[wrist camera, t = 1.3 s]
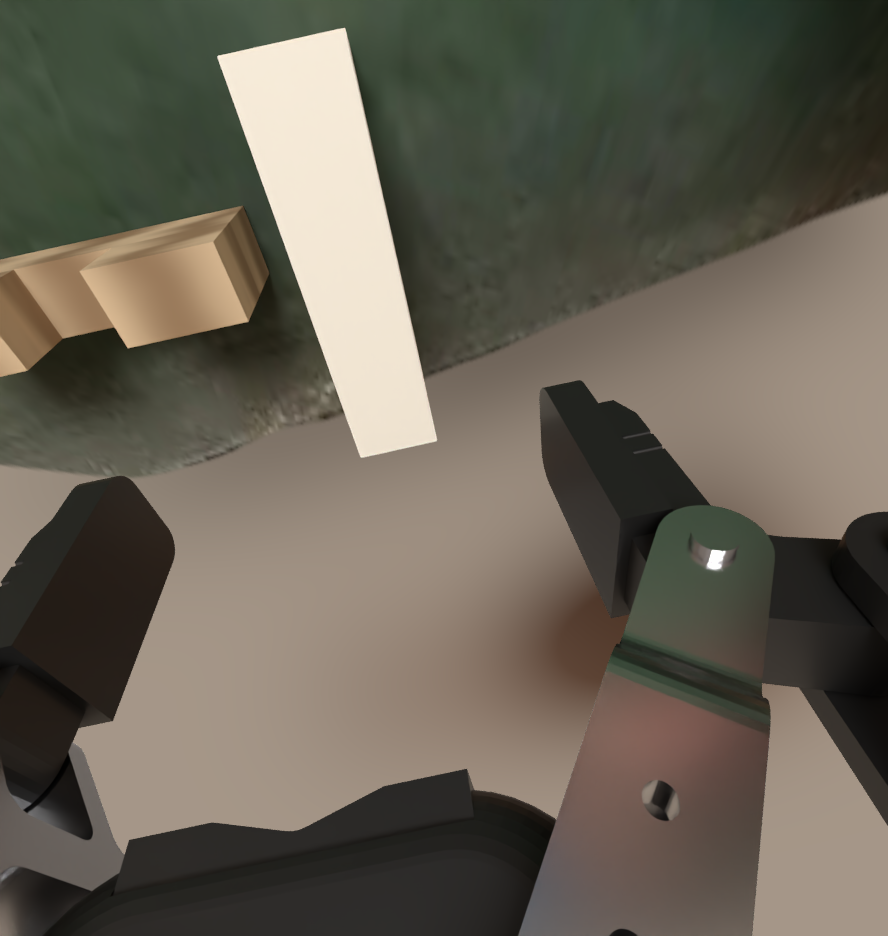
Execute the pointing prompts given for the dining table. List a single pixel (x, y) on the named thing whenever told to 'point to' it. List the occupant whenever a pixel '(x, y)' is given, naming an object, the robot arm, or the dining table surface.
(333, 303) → the white rectangular block
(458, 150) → the dining table surface
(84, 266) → the oak base
